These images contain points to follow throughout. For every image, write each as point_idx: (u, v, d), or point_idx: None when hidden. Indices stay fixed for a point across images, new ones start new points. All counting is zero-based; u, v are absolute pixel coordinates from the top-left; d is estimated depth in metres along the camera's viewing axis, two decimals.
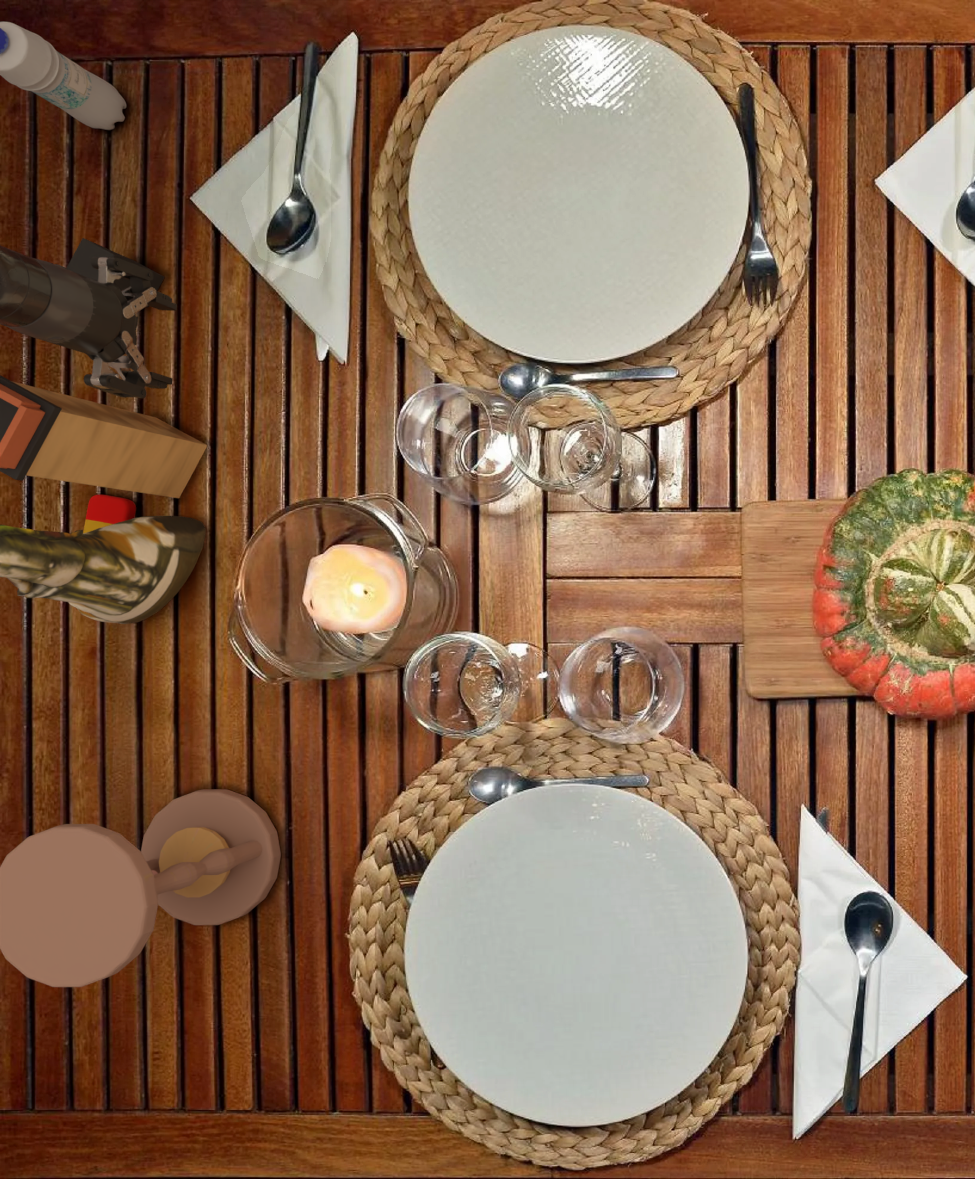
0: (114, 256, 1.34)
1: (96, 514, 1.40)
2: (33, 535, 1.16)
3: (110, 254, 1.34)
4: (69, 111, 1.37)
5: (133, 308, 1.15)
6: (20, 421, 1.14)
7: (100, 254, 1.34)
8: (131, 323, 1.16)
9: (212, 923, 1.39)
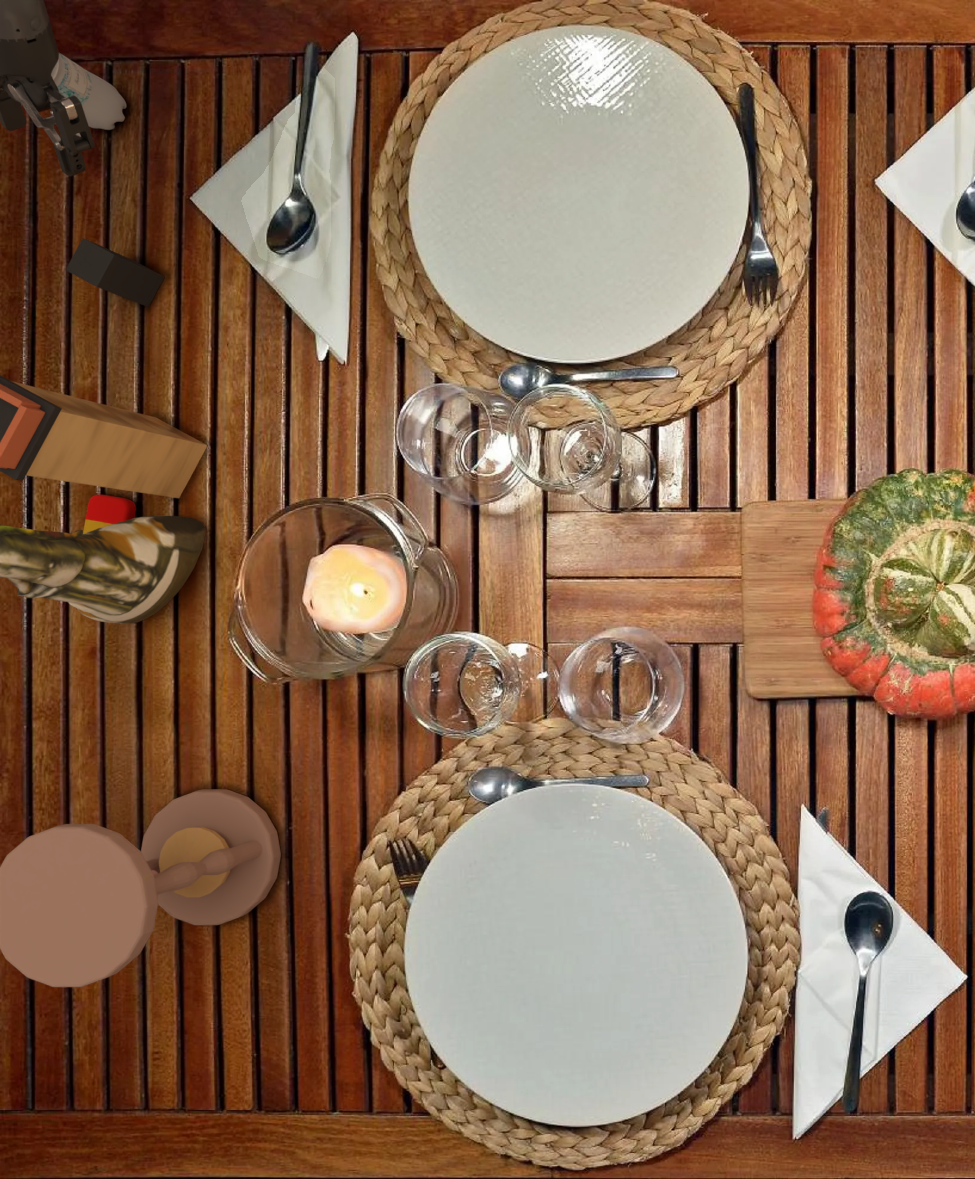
0: (114, 256, 1.34)
1: (96, 514, 1.40)
2: (33, 535, 1.16)
3: (110, 254, 1.34)
4: None
5: None
6: (20, 421, 1.14)
7: (100, 254, 1.34)
8: None
9: (212, 923, 1.39)
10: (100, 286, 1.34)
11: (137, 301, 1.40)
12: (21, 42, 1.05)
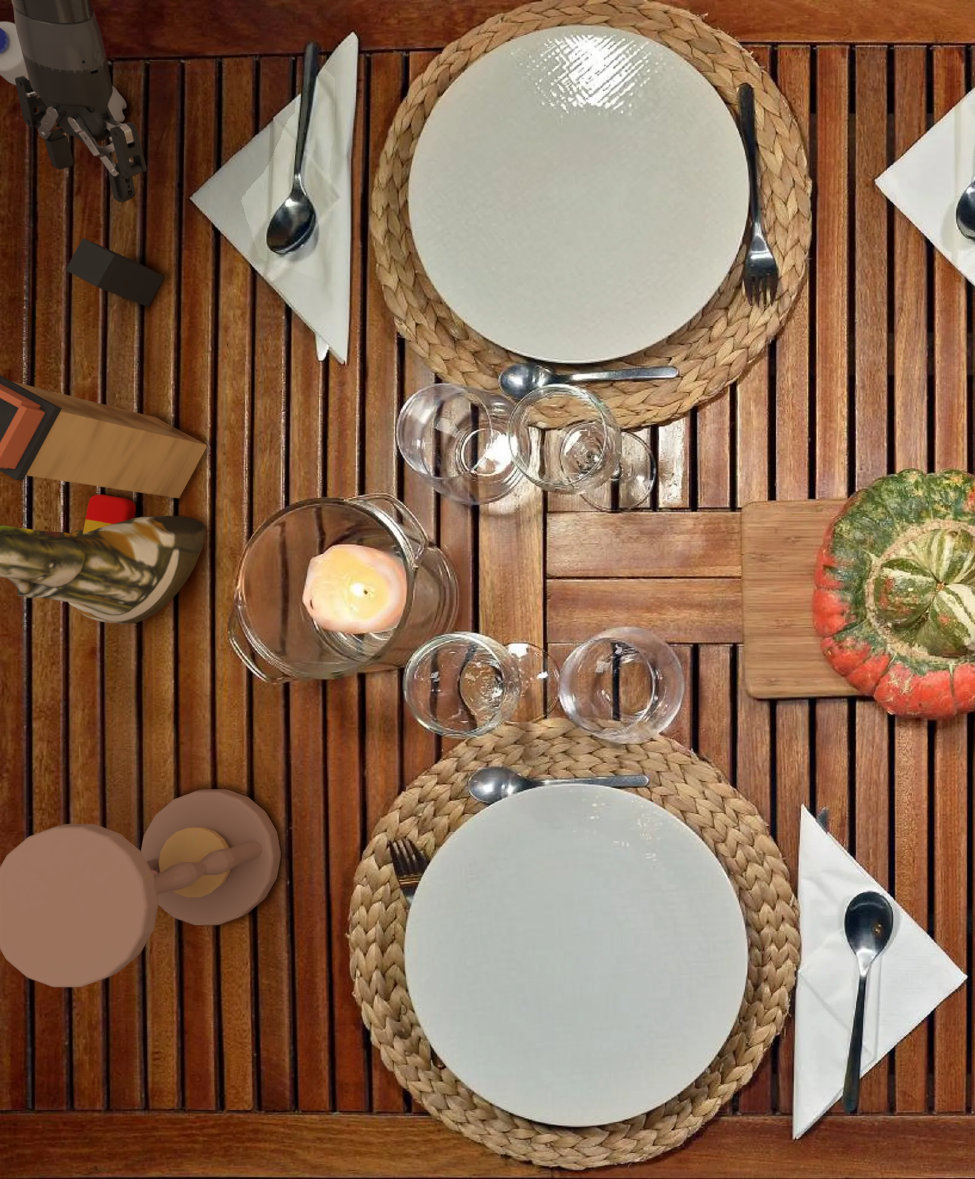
0: (114, 256, 1.34)
1: (96, 514, 1.40)
2: (33, 535, 1.16)
3: (110, 254, 1.34)
4: None
5: None
6: (20, 421, 1.14)
7: (100, 254, 1.34)
8: None
9: (212, 923, 1.39)
10: (100, 286, 1.34)
11: (137, 301, 1.40)
12: (85, 73, 1.17)
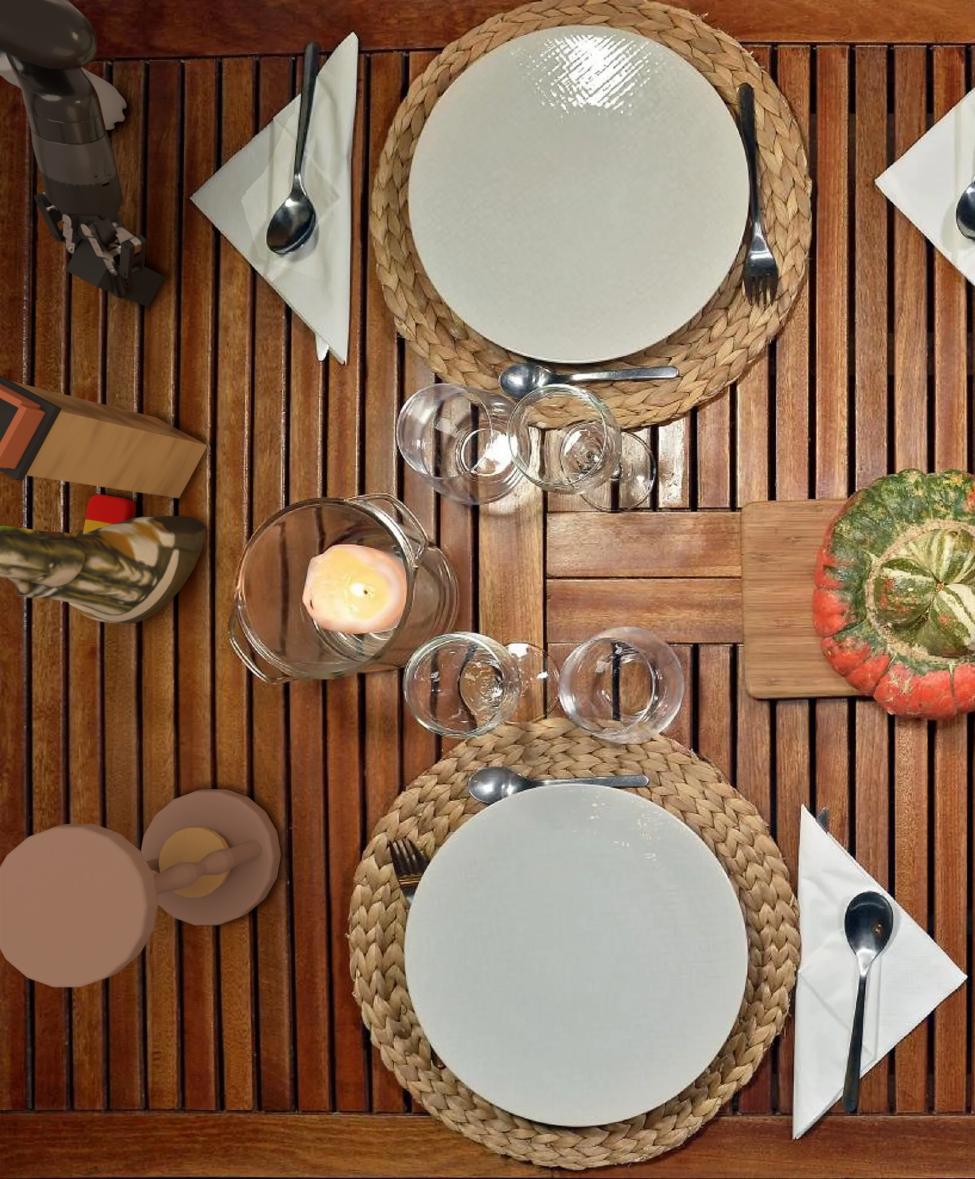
0: (114, 256, 1.34)
1: (96, 514, 1.40)
2: (33, 535, 1.16)
3: None
4: None
5: None
6: (20, 421, 1.14)
7: None
8: None
9: (212, 923, 1.39)
10: (100, 286, 1.34)
11: (137, 301, 1.40)
12: (98, 186, 1.25)
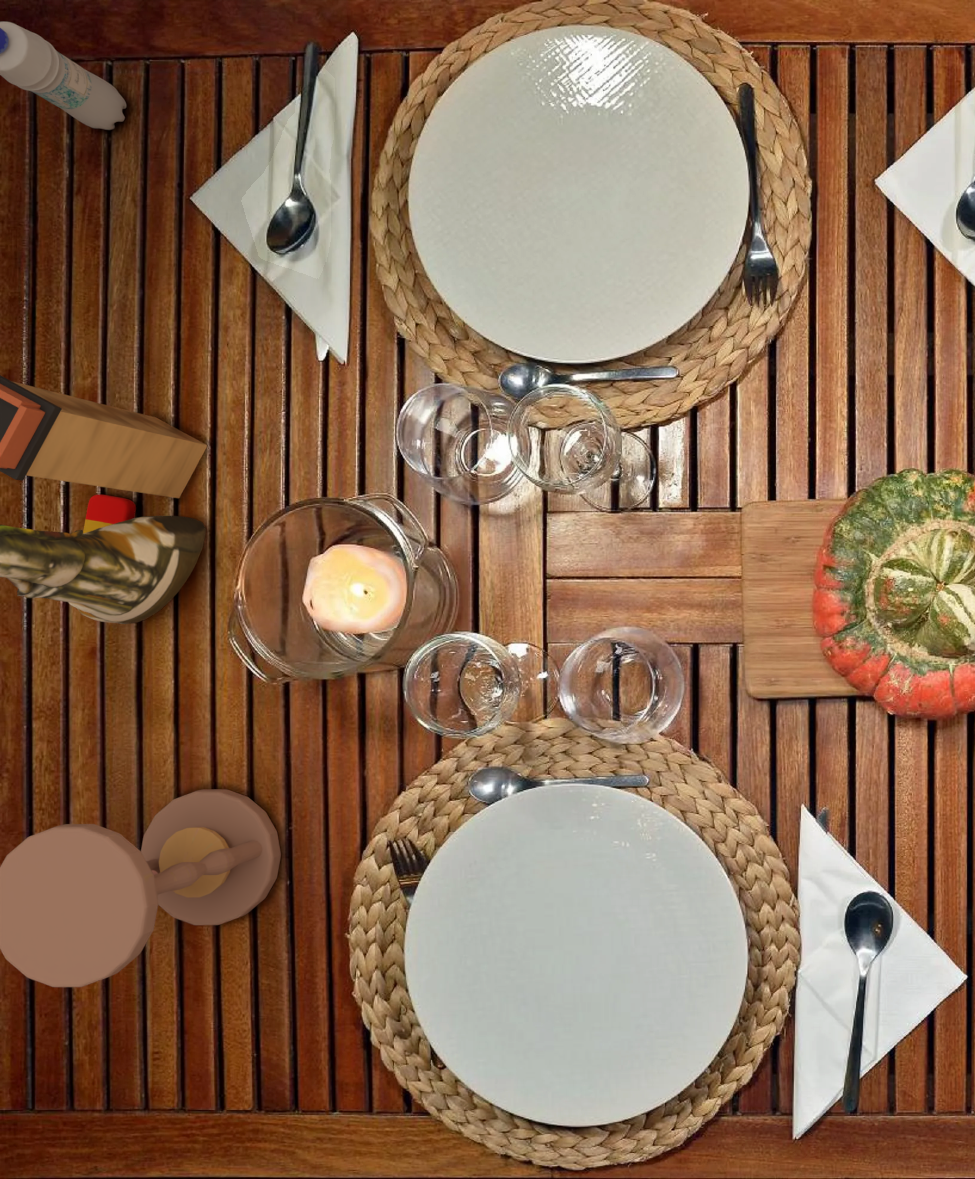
0: None
1: (96, 514, 1.40)
2: (33, 535, 1.16)
3: None
4: (69, 111, 1.37)
5: None
6: (20, 421, 1.14)
7: None
8: None
9: (212, 923, 1.39)
10: None
11: None
12: None
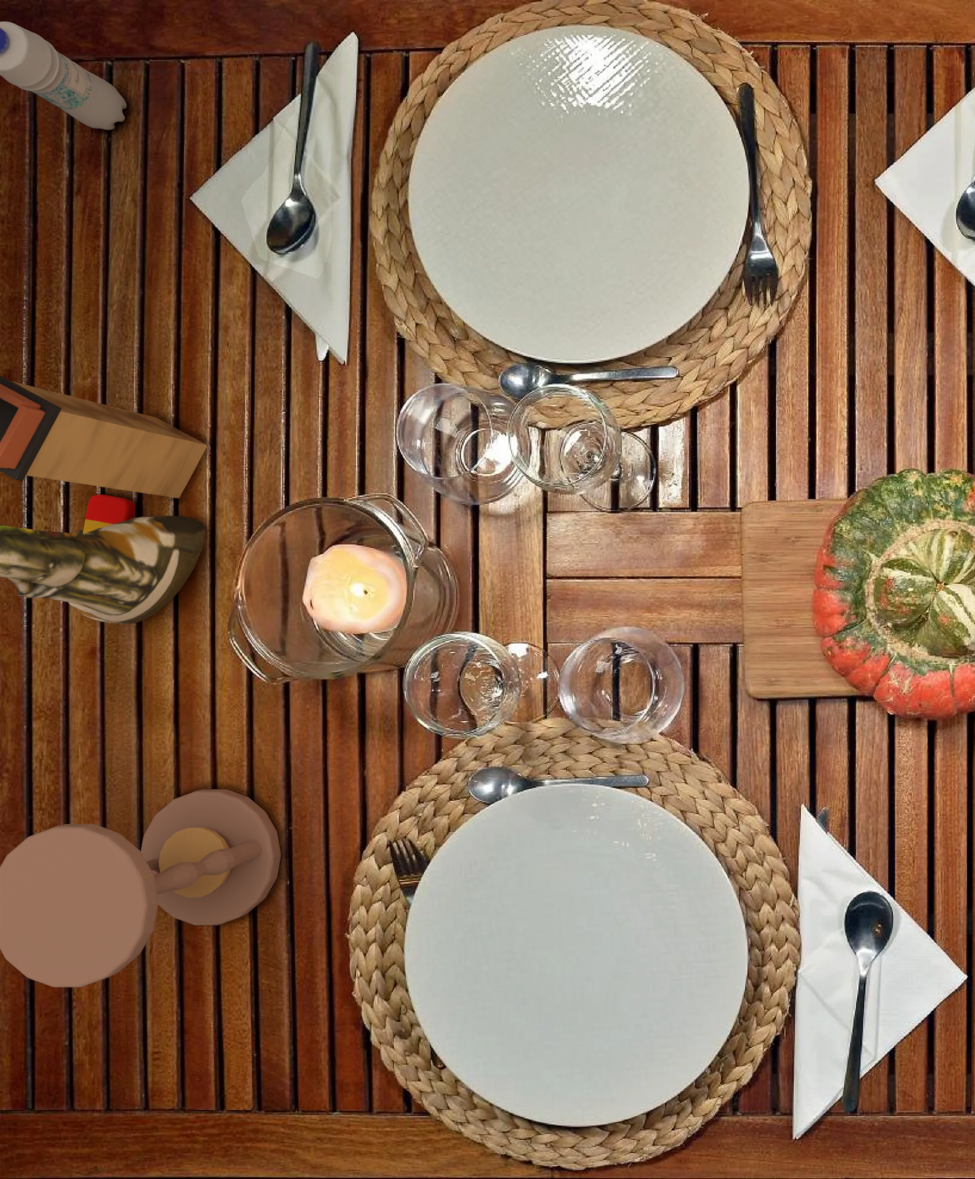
0: None
1: (95, 514, 1.40)
2: (33, 535, 1.16)
3: None
4: (69, 111, 1.37)
5: None
6: (20, 421, 1.14)
7: None
8: None
9: (212, 923, 1.39)
10: None
11: None
12: None
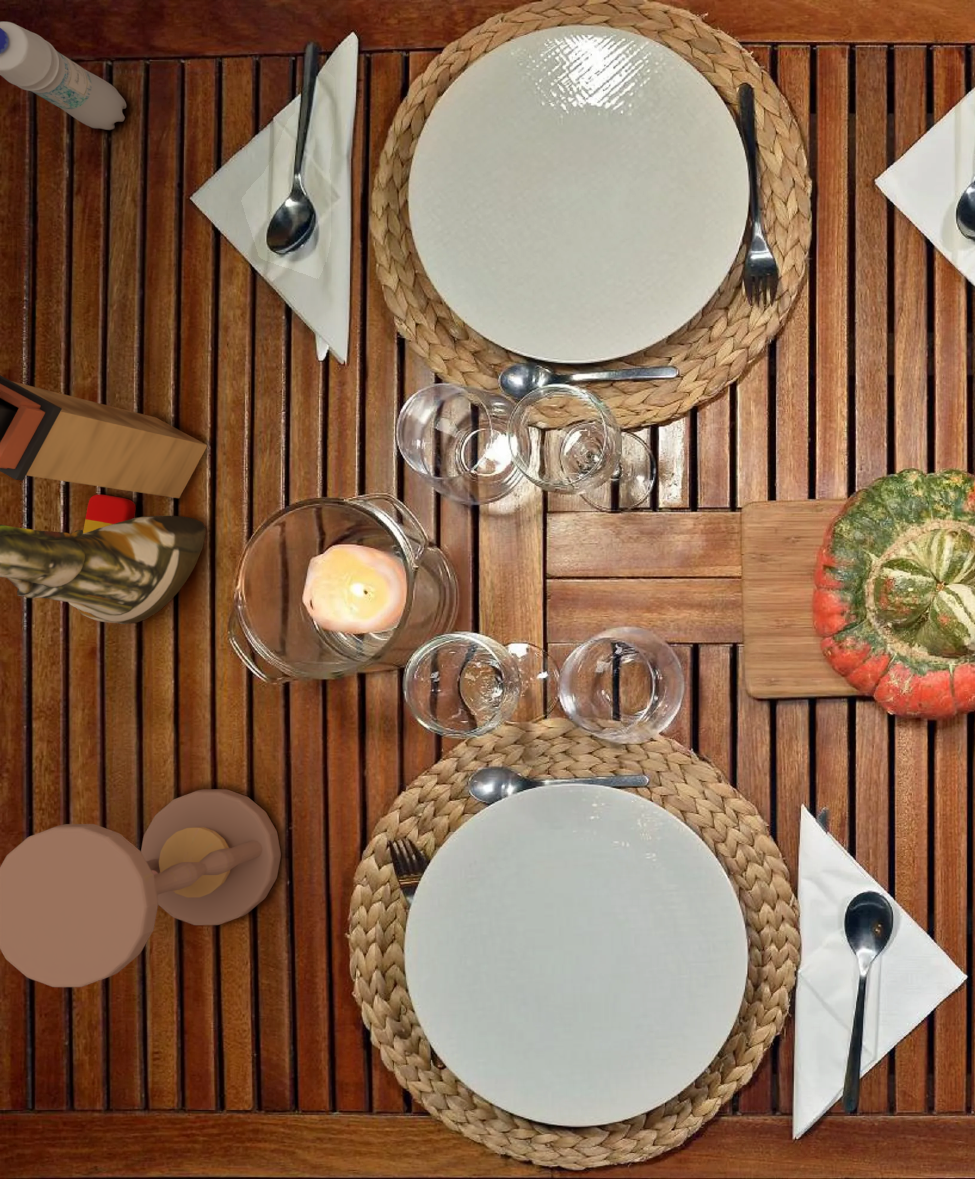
0: None
1: (96, 514, 1.40)
2: (33, 535, 1.16)
3: None
4: (69, 111, 1.37)
5: None
6: (20, 421, 1.14)
7: None
8: None
9: (212, 923, 1.39)
10: None
11: None
12: None
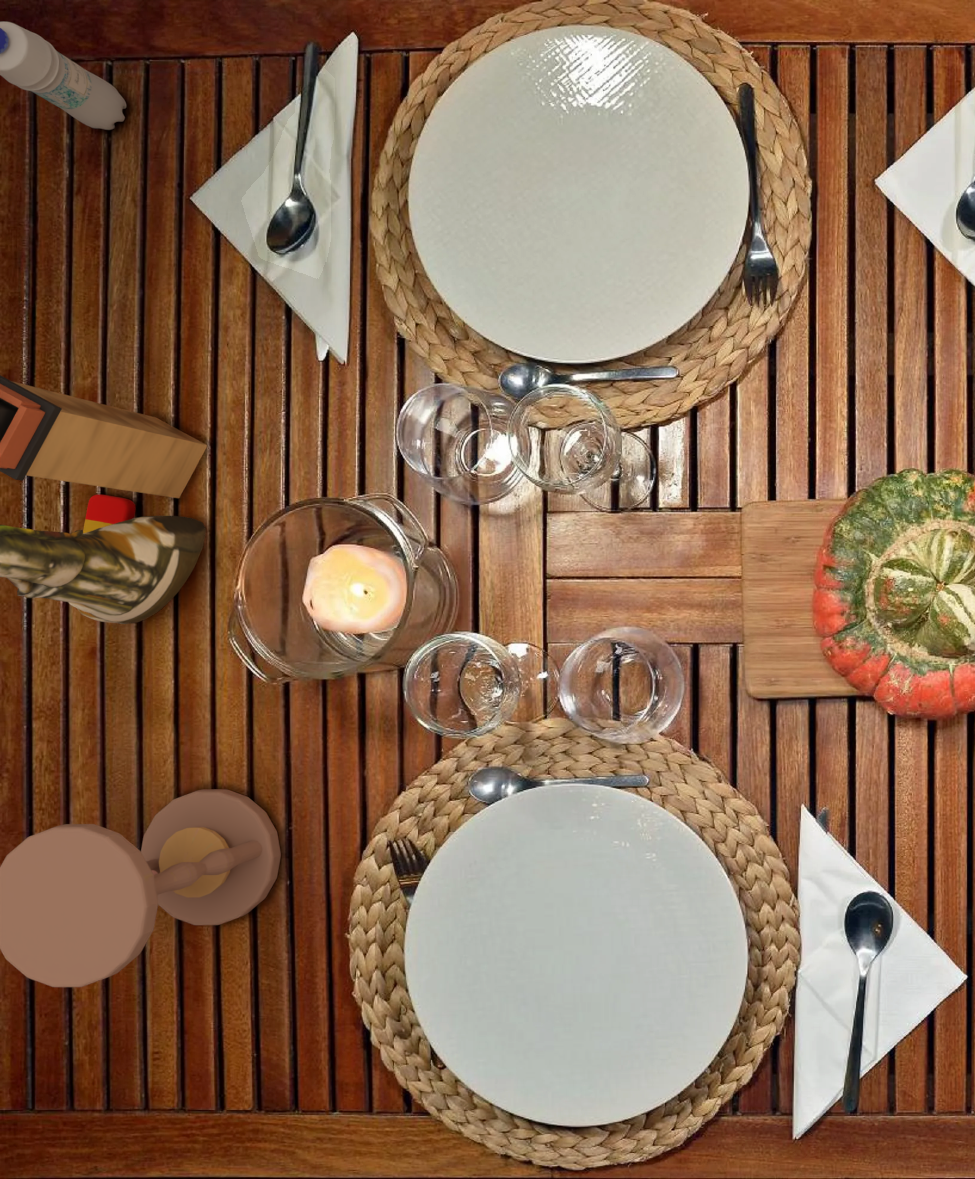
0: None
1: (95, 514, 1.40)
2: (33, 535, 1.16)
3: None
4: (69, 111, 1.37)
5: None
6: (20, 421, 1.14)
7: None
8: None
9: (212, 923, 1.39)
10: None
11: None
12: None
